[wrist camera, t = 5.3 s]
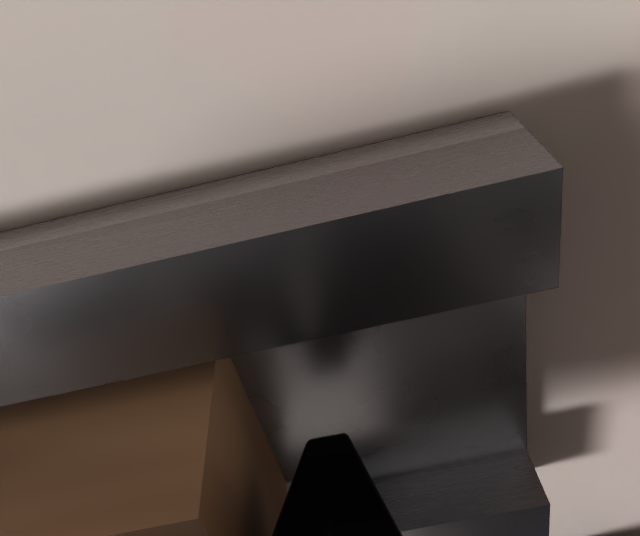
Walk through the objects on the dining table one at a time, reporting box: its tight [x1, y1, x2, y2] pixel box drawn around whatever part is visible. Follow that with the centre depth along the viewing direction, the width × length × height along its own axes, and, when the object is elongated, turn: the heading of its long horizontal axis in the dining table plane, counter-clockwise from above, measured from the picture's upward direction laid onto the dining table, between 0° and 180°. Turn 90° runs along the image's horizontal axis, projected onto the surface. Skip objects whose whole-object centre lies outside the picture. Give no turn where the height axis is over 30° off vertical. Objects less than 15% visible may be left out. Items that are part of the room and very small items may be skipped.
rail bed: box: [0, 111, 563, 536], centre depth 10 cm, size 9×16×2 cm, turn 103°
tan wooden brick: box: [0, 358, 287, 536], centre depth 9 cm, size 4×7×3 cm, turn 102°
